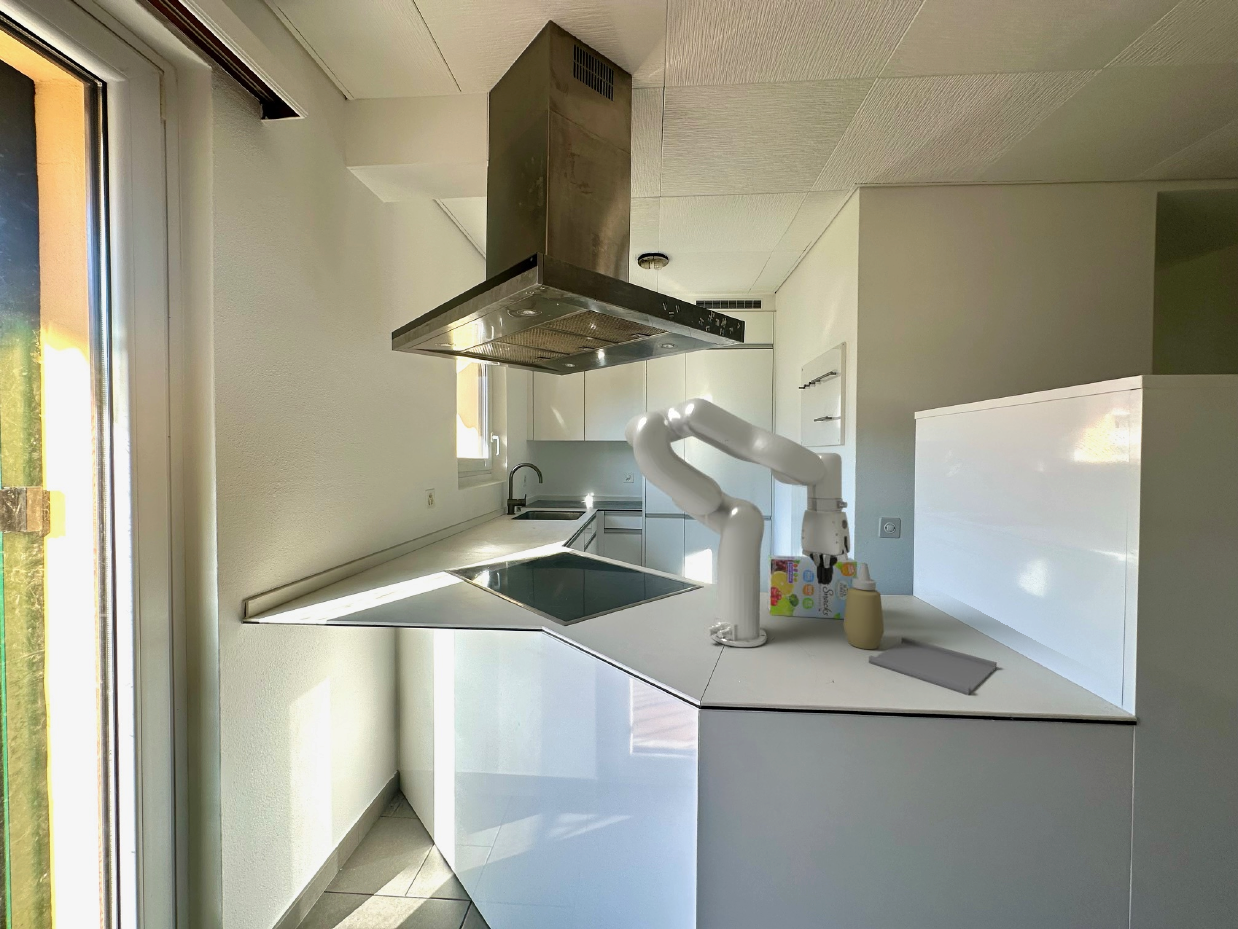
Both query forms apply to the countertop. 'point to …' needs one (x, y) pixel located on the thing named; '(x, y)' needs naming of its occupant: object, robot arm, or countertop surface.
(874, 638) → the squeeze bottle
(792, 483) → the robot arm
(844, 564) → the snack box
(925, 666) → the mat
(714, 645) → the countertop surface
